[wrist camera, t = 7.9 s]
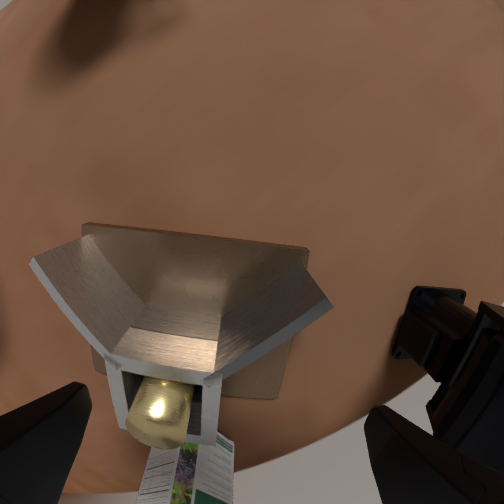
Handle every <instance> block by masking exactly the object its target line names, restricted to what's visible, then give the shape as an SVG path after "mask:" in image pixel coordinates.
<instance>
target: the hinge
mask: <svg viewBox="0 0 504 504" xmlns="http://www.w3.org/2000/svg"><path fill="white" fill-rule="evenodd" d="M309 252H310V251H309V250H308V249H307V248H305V247H297V246H289V245H281V244H273V243H265V242H257V241H249V240H241V239H233V238H224V237H216V236H207V235H199V234H190V233H181V232H173V231H164V230H155V229H146V228H137V227H128V226H118V225H109V224H100V223H90V222H89V223H85V224H82V237H81V238H79V239H76V240H74V241H71V242H68V243H66V244H63V245H61V246H59V247H56V248H54V249H51V250H49V251H46V252H44V253H42V254H39V255H37V256H35V257H33V258H32V260H31V261H30V263H29V265H30V267H31V268H32V270H33V271H34V273H35V274H36V276H37V277H38V279H39V280H40V282H41V283H42V285H43V286H44V287H45V289H46V290H47V291H48V293H49V294H50V296H51V297H52V298H53V300H54V301H55V302H56V304H57V305H58V306H59V307H60V309H61V310H62V311H63V313H64V314H65V315H66V316H67V317H68V319H69V320H70V321H71V322H72V324H73V325H74V326H75V327H76V328H77V329H78V331H79V332H80V333H81V334H82V335H83V336H84V337H85V339H86V340H87V341H88V342H89V343H90V346H91V352H92V357H93V363H94V368H95V371H98V372H101V373H105V374H107V377H108V382H109V387H110V392H111V396H112V401H113V405H114V409H115V413H116V417H117V421H118V425H119V428H122V429H125V430H127V428H126V425H125V421H126V418H127V415H128V413H129V411H130V408H131V406H132V404H133V401H134V399H135V397H136V394H137V392H138V390H139V387H140V385H141V383H142V381H143V378H144V376H150V377H155V378H160V379H165V380H171V381H177V382H183V383H190V384H196V385H195V391H194V396H193V401H192V406H191V411H190V417H189V422H188V428H187V433H186V439H185V442H187V443H194V444H201V445H210V446H216V437H217V427H218V416H219V406H220V396H221V395H223V396H233V397H245V398H260V399H277V398H278V394H279V391H280V387H281V383H282V379H283V375H284V371H285V367H286V363H287V358H288V354H289V350H290V346H291V341H292V337H293V336H294V335H295V334H296V333H298V332H299V331H301V330H302V329H304V328H305V327H307V326H308V325H309V324H311V323H312V322H314V321H315V320H317V319H318V318H319V317H321V316H322V315H323V314H325V313H326V312H328V311H329V310H330V309H332V308H333V306H332V304H331V303H330V301H329V300H328V299H327V297H326V296H325V294H324V293H323V292H322V290H321V289H320V288H319V286H318V285H317V284H316V282H315V281H314V279H313V278H312V277H311V275H310V274H309V273H308V271H307V270H306V269H307V263H308V258H309Z"/></svg>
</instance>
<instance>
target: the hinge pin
mask: <svg viewBox="0 0 504 504" xmlns="http://www.w3.org/2000/svg"><path fill="white" fill-rule="evenodd" d="M195 385H196V384H190V383H183V382H177V381H171V380H165V379H160V378H155V377H150V376H144V378H143V381H142V383H141V385H140V387H139V390H138V392H137V394H136V397H135V399H134V401H133V404H132V406H131V408H130V411H129V413H128V415H127V418H126V421H125V425H126V428H127V430H128V431H129V433H130V434H131V435H132V436H133V437H134V438H135V439H137V440H138V441H140V442H141V443H143V444H145V445H148V446H150V447H153V448H157V449H165V450H169V449H175V448H178V447H180V446H182V445H183V444H184V442H185V439H186V433H187V428H188V422H189V417H190V411H191V406H192V401H193V396H194V391H195Z"/></svg>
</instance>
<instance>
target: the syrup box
mask: <svg viewBox="0 0 504 504" xmlns="http://www.w3.org/2000/svg"><path fill="white" fill-rule="evenodd" d="M233 469H234V442H233V441H231V440H229V439H227V438H226V437H224V436H223V435H222V434H220V433H219V432H218V431H217V437H216V446H210V445H201V444H194V443H187V442H184V444H183V445H182V446H180V447H178V448H175V449H169V450H165V449H157V448H153V447H151V451H150V454H149V457H148V461H147V464H146V468H145V471H144V474H143V478H142V481H141V485H140V488H139V492H138V496H137V500H136V504H233Z"/></svg>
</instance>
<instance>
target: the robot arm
mask: <svg viewBox="0 0 504 504" xmlns="http://www.w3.org/2000/svg"><path fill="white" fill-rule="evenodd" d="M418 291H419V293H418ZM417 293H418V294H417ZM465 297H466V291H464V290H462V289H453V288H441V287H429V286H416V287H415V288H414V289H413V291H412V294H411V298H410V301H409V304H408V307H407V311H406V314H405V317H404V320H403V323H402V326H401V329H400V332H399V334H398V337H397V340H396V343H395V345H394V348H393V351H392V356H393V357H394V358H395V359H407V358H413V359H414V360H415V362H416V363H417V364H418V365H419V366H420V367H423V368H424V369H425V371H426V372H427V373H428V374H429V375H430V376H431V377H432V378H433V380H434V381H435V382H440V383H441V385H440V386H439V388H438V390H437V391H436V393H435V394H434V396H433V397H432V399H431V400H429V402H428V403H427V405H426V410H427V413H428V416H429V419H430V423H431V426H432V430H433V436H432V435H430V434H429V433H427V432H426V431H424V430H423V429H421V428H420V427H418V426H416V425H415V424H413V423H412V422H410V421H408V420H407V419H406V418H404V417H402V416H401V415H399V414H398V413H396V412H395V411H393V410H392V409H390V408H389V407H387V406H385V405H379V406H374V407H373V408H372V409H371V411H370V413H369V415H368V417H367V419H366V421H365V424H364V431H365V437H366V442H367V447H368V452H369V458H370V463H371V467H372V471H373V474H374V477H375V480H376V484H377V487H378V490H379V494H380V497H381V500H382V503H383V504H504V307H502V306H499V305H495V304H491V303H488V302H484V301H481V302H480V305H479V307H478V309H479V310H478V312H477V313H476V312H474V311H473V310H471V309H469V308H468V307H466V306H465V305H463V304H464V300H465ZM91 410H92V401H91V398H90V394H89V391H88V388H87V386H86V385H85V384H83V383H80V382H76V381H75V382H72V383H70V384H68V385H66V386H64V387H62V388H59V389H57V390H55V391H53V392H51V393H49V394H47V395H45V396H43V397H41V398H39V399H36V400H34V401H32V402H30V403H28V404H26V405H23V406H21V407H19V408H17V409H15V410H13V411H10V412H8V413H6V414H4V415H1V416H0V504H58V501H59V498H60V495H61V493H62V490H63V487H64V485H65V482H66V480H67V477H68V474H69V472H70V469H71V467H72V465H73V462H74V460H75V457H76V455H77V453H78V450H79V448H80V445H81V442H82V439H83V436H84V432H85V429H86V426H87V423H88V419H89V416H90V413H91Z"/></svg>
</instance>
